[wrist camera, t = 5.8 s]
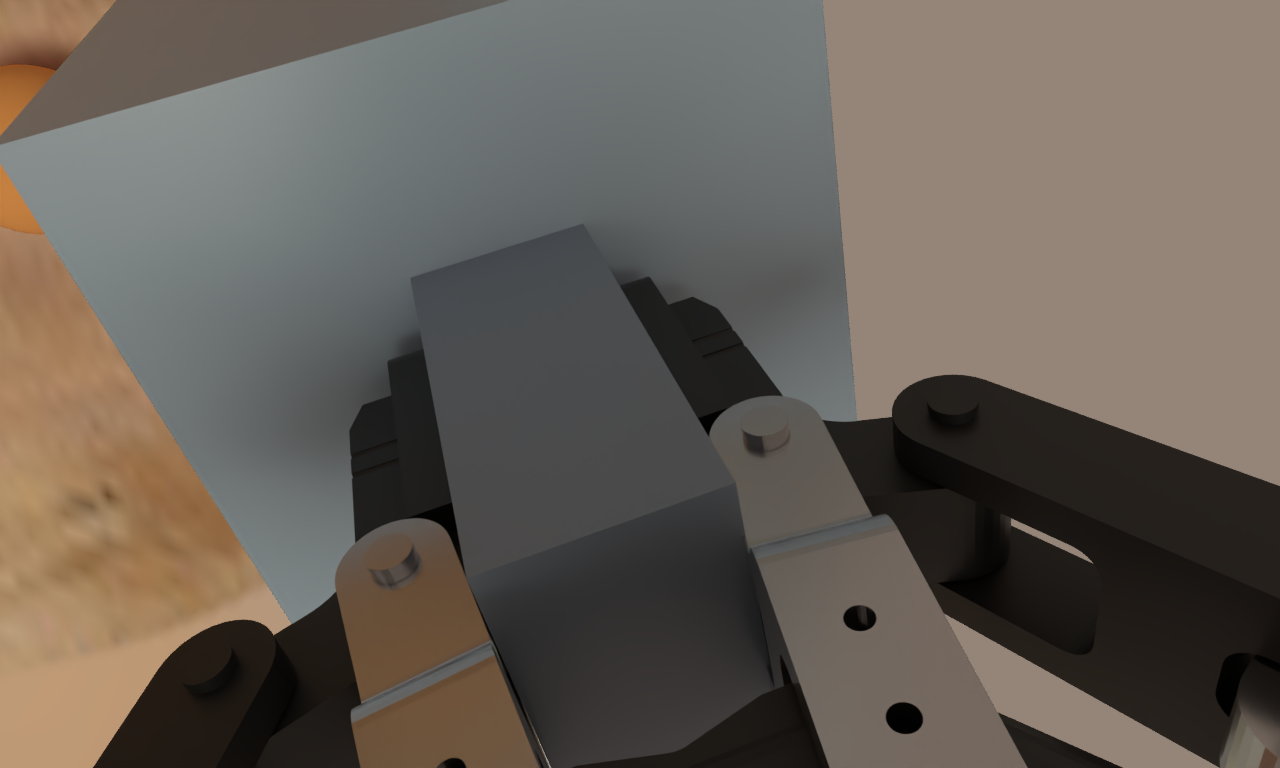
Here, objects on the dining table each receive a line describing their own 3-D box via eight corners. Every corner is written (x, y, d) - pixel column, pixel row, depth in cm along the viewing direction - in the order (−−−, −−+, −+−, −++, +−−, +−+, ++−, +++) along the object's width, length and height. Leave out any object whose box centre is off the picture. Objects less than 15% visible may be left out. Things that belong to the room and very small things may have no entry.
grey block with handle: (119, -3, 18) (-275, 455, 6) (629, -140, 19) (1155, 10, 7) (328, 415, 24) (341, 1066, 12) (707, 290, 25) (1066, 768, 13)
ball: (-75, 72, 29) (-137, 121, 25) (89, 26, 30) (54, 68, 26) (19, 217, 32) (-22, 282, 28) (167, 173, 33) (147, 231, 29)
